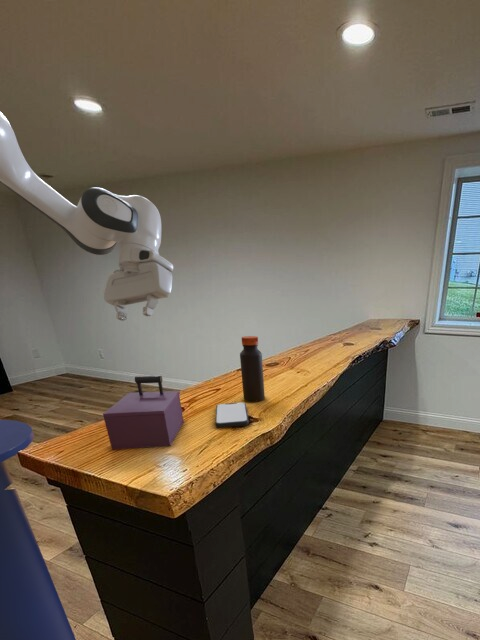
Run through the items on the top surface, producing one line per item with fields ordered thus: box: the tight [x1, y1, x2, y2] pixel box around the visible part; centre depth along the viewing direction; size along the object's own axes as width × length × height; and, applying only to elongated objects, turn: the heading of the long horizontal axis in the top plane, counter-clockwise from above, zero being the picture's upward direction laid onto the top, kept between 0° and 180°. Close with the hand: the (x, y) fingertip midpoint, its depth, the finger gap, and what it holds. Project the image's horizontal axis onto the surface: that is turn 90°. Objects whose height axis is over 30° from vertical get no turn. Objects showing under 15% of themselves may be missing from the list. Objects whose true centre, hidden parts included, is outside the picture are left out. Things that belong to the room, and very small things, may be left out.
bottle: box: [239, 335, 266, 403], centre depth 110 cm, size 7×7×20 cm
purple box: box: [103, 394, 185, 450], centre depth 85 cm, size 16×13×8 cm
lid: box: [102, 375, 181, 418], centre depth 83 cm, size 16×13×6 cm
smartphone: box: [214, 402, 250, 429], centre depth 99 cm, size 9×2×16 cm
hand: (134, 317), depth 87 cm, fingers open, 8 cm apart
